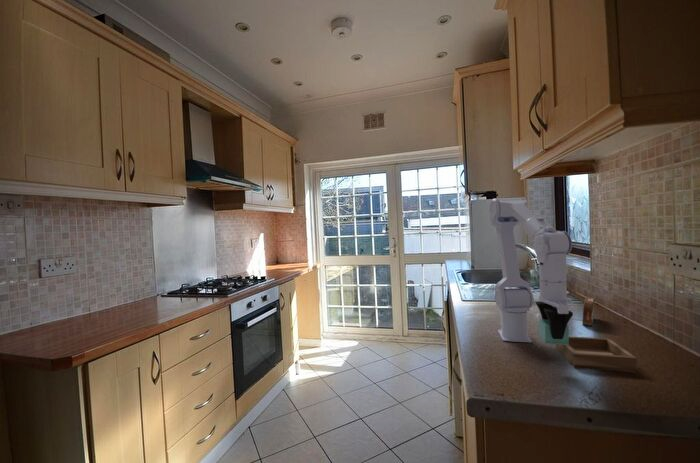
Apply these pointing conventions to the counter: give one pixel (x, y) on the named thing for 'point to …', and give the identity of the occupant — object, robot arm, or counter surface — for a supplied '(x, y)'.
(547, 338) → the small crate
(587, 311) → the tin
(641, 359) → the counter surface
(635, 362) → the big crate
